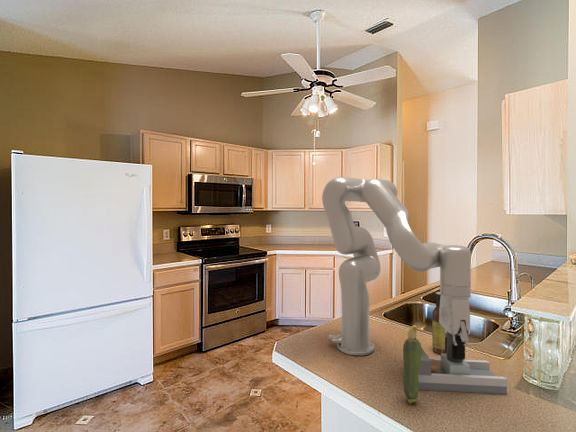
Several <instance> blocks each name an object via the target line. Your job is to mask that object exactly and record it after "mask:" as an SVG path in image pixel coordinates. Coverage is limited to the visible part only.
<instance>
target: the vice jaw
mask: <svg viewBox="0 0 576 432" xmlns="http://www.w3.org/2000/svg"><path fill="white" fill-rule="evenodd" d="M457 333H460V331H458V332H457ZM460 337H461V336H457V339H458V338H460ZM452 344H454V343H453V335H451V334H450V333H449V332H448V331H447V354H442V353H441V354H440V359H441V368H442V369H443V371H444V372H445V373H446V374H457V375H470V366H469V365H468V363H467V362H466V361H465V360H466V359H464V360H460V359H453V358H452Z"/></svg>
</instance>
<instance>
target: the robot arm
mask: <svg viewBox="0 0 576 432" xmlns="http://www.w3.org/2000/svg"><path fill="white" fill-rule="evenodd" d="M397 196H398V190H397V187H396V185H395V183H393V182H392V181H390V180H388V179H383V178H371V179H363V178H354V177H344V176H340V177H339V176H338V177H334V178H332V179H331V180H329V181H328V182H327V183H326V184H325V186H324V188H323V191H322V195H321V201H322V206H323V209H324V210H323V211H324V212H325V214H326V217H327V218H326V219H327V221H328V225H329V228H330V232H331V235H332V238H333V244H334V246H335V249H336V251H337V252H338V253H339V254H341V255H343V256H344V255H345V256H347V255H353V257H350V258H348V259H345V260H344V261H343V262H342V263H340V265H339V268H338V279H339V284H340V285H339V286H340V293H341V294H340V296H341V297H340V298H341V330H340V332H339V333H337V334H332V333H331V334H328V341H332V343H334V344H335V343H337V344H336V346H337V349H338V350H339V351H340V352H342V353H344V354H347V355H350V356H354V357H355V356H356V357H357V356H359V357H361V356H368V355H370V354H372V353H373V352H374V350H375V345H374V344H373V342H372V341H370V294H369V290H368V288H367V287H368V286H367V283H369V282H371V281H374V280H375V279H377V278H379V276H380V273H381V269H382V268H381V262H380V259H379V256H378V255H379V254H378V252H377V248H376V245H375V242H374V240H373V236H372V234H371V233H370V232H369V231H368V229H366V228H364V227H362V226H356V225H355V222H354V219H353V215H352V212H351V211H350V210H349V208H348V207H347V205H346V202H356V203H357V202H360V203H365V204H366V205H368V207H369V208H370V209H371V211H372V212H373V213H374V215H376V217H377V218H378V219H379V221H380V222H381V224H382V225H383V226H384V228H385V230H386V234H387V236H388V239H389V243H390V245H391V247H392V248H393V249H394V251H395V252H396V254H397V255H398V256H399V257H400V259H401V261H403V262H404V263H405V265H406V266H407V267H408V268H410V269H412V270H413V271H415V272H419V273H420V272H421V273H422V272H426V271H429V270H431V269H435V268H439V281H440V282H439V284H440V285H439V292H440V294H441V297H440V308H439V323H440V324H441V325H442V326H443V327H444V328H445V336H447V331H448V332H449V333H450V334H451V335H453V343H454V344H452V358H453V359H460V360H466V345H467V342H469V336H470V332H471V312H470V311H471V310H470V309H471V308H470V298H471V297H472V296H471V292H472V290H471V289H472V288H471V286H472V285H471V283H472V281H471V280H472V279H471V278H472V277H471V274H472V273H471V271H472V269H471V268H472V266H471V265H472V262H471V261H472V258H471V257H472V256H471V255H472V253H471V252H472V251H471V249H470V248H469V247H467V246H466V245H465V246H463V245H457V244H454V245H452V244H451V245H450V244H449V245H448V244H442V243H437V242H424V243H422V241H420V240H419V238H418V237H417V235H416V234H415V233H414V231H413V230H412V229H411V227H410V225H409V216H410V215H409V210H408V208H406V207H405V205H404V204H403V203H402V202H401V201H400V200H399V198H398V197H397ZM458 331H460V333H457V332H458ZM457 336H461V337H460V338H458V339H457ZM445 350H446V351H447V337H445Z"/></svg>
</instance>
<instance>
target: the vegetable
mask: <svg viewBox="0 0 576 432" xmlns="http://www.w3.org/2000/svg"><path fill="white" fill-rule="evenodd" d="M417 332H419V329H418V326H417V324H413V325H411V326H410V328H409V329H408V331H407V338H406V339H405V341H404V343H403V346H402V347H403V348H402V350H403V351H402V353H403V356H402V357H403V382H402V385H403V392H404V396H405V397H406V399H407V402H408V403H409V405H412V404H411V403H416V402H417V400H418V397H419V390H418V387H419V378H418V374H419V367H420V362H421V355H422V349H423V347H422V343H421V342H420V341H419V339H418V338H417Z"/></svg>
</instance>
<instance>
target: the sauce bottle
mask: <svg viewBox="0 0 576 432" xmlns="http://www.w3.org/2000/svg"><path fill="white" fill-rule="evenodd" d="M434 295H435V307H434V309H433V310H432V315H431V316H432V320H431V321H432V322H431V326H432V328H431V329H432V330H431V331H432V332H431V333H432V337H431V338H432V339H431V340H432V350H433V351H434V352H435V353H437V354H439V355H441V353H442V354H447V351H446V350H445V337H447V336H445V328H444V327H443V326H442V325H441V324H440V323H439V308H440V297H441V294H440V291H436V292H435V294H434Z"/></svg>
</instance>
